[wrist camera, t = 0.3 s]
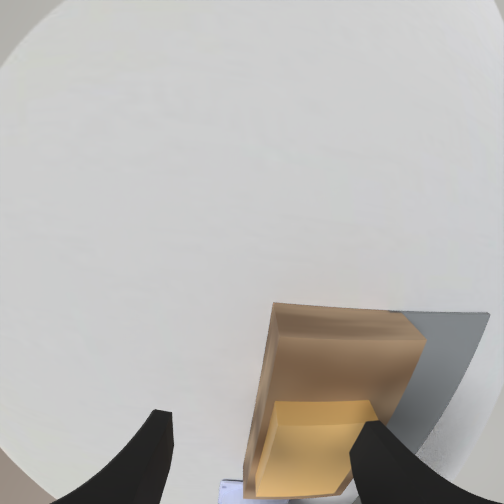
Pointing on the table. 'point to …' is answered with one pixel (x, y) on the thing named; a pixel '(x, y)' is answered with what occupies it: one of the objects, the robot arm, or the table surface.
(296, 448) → the yellow orange block
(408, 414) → the mat
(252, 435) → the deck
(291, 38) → the table surface
